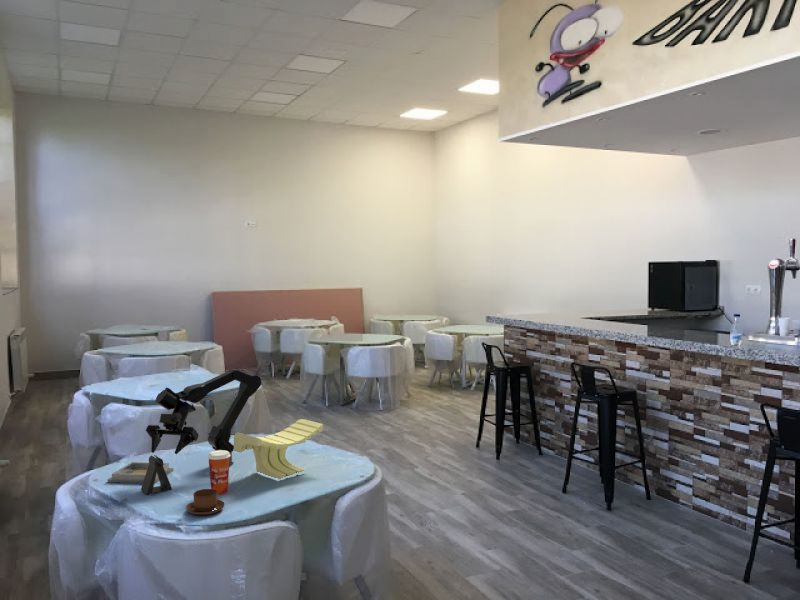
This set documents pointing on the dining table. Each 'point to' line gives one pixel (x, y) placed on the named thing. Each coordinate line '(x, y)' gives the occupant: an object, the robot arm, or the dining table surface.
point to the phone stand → (150, 476)
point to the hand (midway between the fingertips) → (163, 453)
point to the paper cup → (219, 470)
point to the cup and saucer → (205, 502)
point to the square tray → (135, 473)
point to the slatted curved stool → (277, 447)
